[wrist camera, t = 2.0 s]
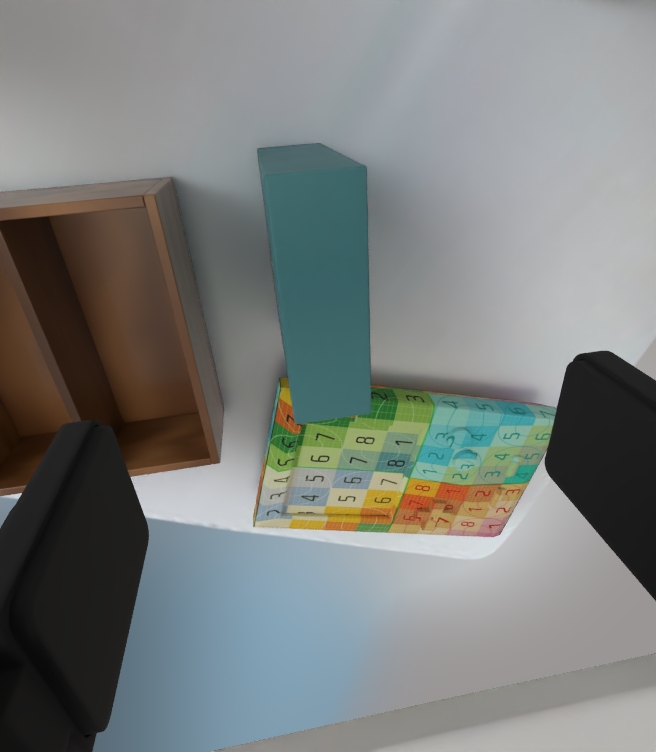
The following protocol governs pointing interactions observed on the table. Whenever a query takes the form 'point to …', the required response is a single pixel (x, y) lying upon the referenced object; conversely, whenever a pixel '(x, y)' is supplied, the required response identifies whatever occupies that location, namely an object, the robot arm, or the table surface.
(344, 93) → the table surface
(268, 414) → the table surface
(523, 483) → the puzzle game
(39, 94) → the table surface
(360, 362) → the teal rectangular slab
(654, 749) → the robot arm
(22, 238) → the caddy
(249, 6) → the table surface
